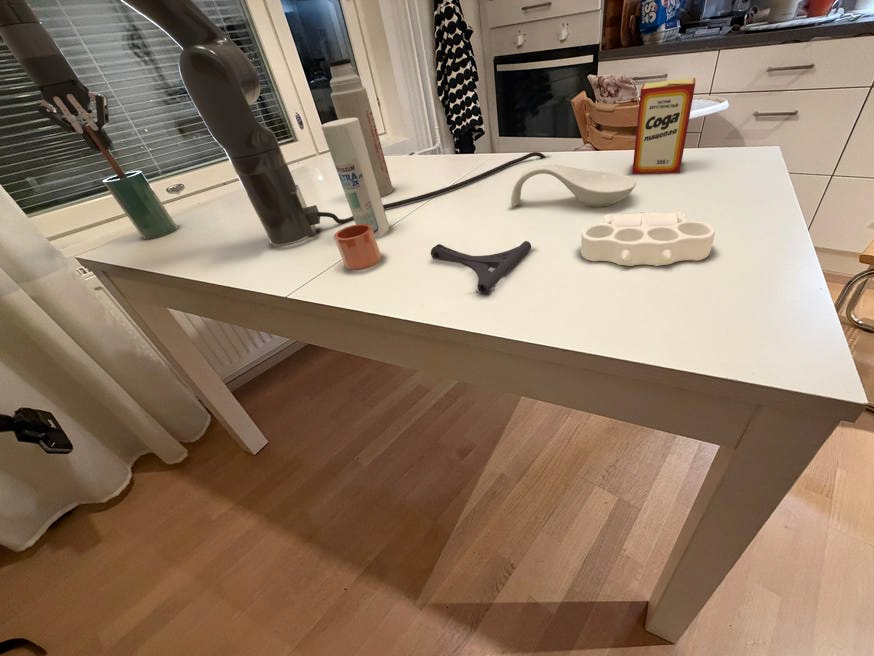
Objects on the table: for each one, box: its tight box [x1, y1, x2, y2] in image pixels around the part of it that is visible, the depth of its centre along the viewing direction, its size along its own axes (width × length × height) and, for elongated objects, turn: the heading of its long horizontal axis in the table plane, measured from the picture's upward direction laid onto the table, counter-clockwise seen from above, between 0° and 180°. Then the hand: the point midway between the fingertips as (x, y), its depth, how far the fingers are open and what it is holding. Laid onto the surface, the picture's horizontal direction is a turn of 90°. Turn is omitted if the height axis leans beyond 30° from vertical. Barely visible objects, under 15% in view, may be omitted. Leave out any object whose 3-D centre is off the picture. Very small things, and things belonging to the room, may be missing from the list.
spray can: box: [320, 118, 390, 237], centre depth 75 cm, size 6×6×20 cm
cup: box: [102, 170, 178, 240], centre depth 98 cm, size 8×8×14 cm
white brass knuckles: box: [580, 210, 716, 267], centre depth 59 cm, size 3×18×15 cm
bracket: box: [430, 240, 532, 295], centre depth 63 cm, size 14×15×3 cm
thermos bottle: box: [327, 58, 394, 198], centre depth 94 cm, size 8×8×28 cm
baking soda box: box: [631, 77, 696, 175], centre depth 82 cm, size 10×6×16 cm
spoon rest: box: [510, 163, 637, 208], centre depth 76 cm, size 24×12×7 cm, turn 74°
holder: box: [333, 224, 382, 271], centre depth 68 cm, size 6×6×6 cm
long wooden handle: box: [83, 124, 127, 179], centre depth 94 cm, size 4×4×22 cm
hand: (104, 149), depth 90 cm, fingers closed on long wooden handle, 1 cm apart
